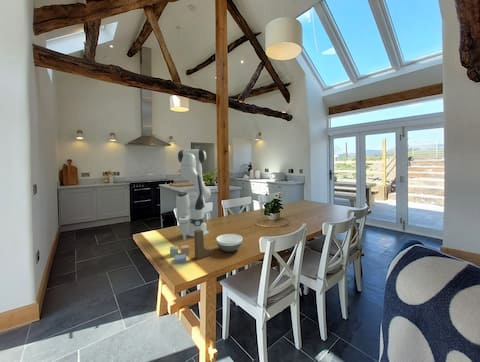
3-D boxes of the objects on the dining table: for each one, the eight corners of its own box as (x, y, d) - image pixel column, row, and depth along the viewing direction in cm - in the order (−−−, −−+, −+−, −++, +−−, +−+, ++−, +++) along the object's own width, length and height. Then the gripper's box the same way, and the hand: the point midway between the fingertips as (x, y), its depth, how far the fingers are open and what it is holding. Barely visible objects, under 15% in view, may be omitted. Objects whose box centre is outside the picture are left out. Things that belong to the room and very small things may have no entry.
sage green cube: (170, 253, 154) (170, 246, 153) (178, 252, 155) (178, 245, 154) (170, 256, 149) (170, 249, 148) (178, 256, 150) (177, 248, 150)
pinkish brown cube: (181, 252, 155) (181, 245, 155) (188, 251, 157) (188, 244, 156) (181, 255, 151) (181, 248, 150) (189, 254, 152) (188, 247, 151)
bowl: (211, 248, 163) (211, 236, 162) (233, 242, 173) (233, 232, 172) (224, 257, 147) (224, 245, 146) (247, 251, 157) (247, 239, 156)
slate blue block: (174, 258, 146) (174, 255, 145) (186, 257, 147) (186, 253, 147) (174, 263, 139) (174, 260, 139) (186, 262, 141) (186, 258, 140)
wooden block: (206, 253, 154) (205, 227, 152) (210, 255, 150) (209, 229, 148) (194, 257, 148) (193, 230, 146) (198, 259, 144) (197, 232, 142)
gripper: (178, 214, 160) (179, 233, 161) (178, 221, 140) (179, 243, 141) (187, 213, 161) (188, 232, 163) (189, 220, 142) (189, 241, 143)
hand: (184, 237), depth 152 cm, fingers open, 8 cm apart
